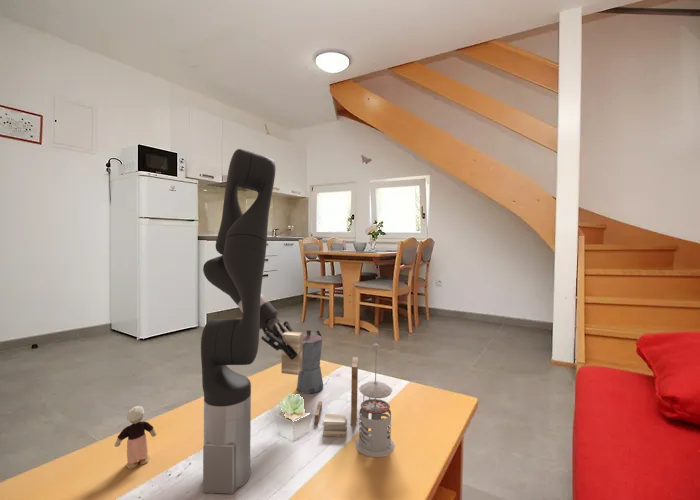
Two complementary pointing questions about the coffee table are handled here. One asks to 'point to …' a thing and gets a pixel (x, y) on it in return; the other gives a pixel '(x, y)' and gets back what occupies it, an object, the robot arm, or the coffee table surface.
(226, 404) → the robot arm
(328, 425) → the offcut stack
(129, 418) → the grandmother figurine
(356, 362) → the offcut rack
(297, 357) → the light wooden block
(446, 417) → the coffee table surface
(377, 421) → the french press
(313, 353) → the moka pot
